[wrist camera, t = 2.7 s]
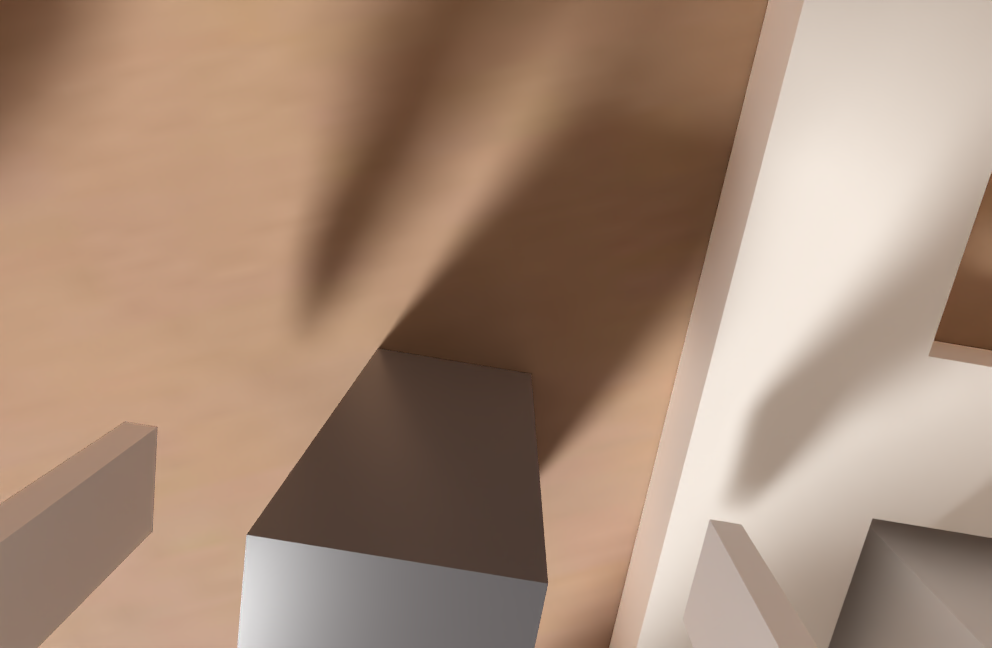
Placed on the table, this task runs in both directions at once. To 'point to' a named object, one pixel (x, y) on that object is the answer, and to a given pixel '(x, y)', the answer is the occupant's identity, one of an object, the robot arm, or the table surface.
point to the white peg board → (838, 339)
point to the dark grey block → (406, 518)
